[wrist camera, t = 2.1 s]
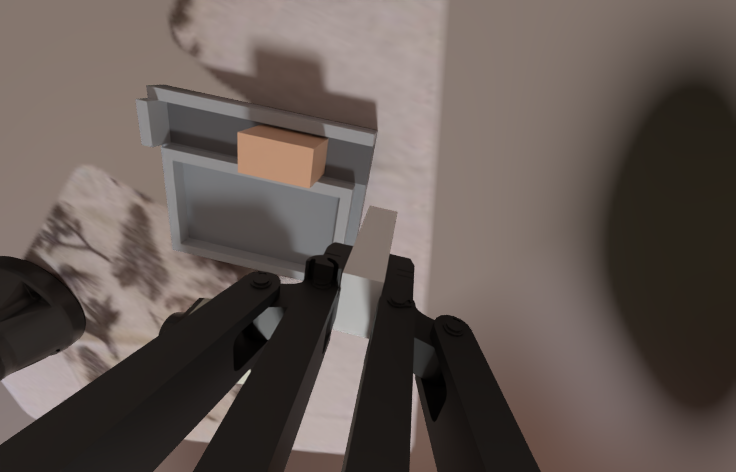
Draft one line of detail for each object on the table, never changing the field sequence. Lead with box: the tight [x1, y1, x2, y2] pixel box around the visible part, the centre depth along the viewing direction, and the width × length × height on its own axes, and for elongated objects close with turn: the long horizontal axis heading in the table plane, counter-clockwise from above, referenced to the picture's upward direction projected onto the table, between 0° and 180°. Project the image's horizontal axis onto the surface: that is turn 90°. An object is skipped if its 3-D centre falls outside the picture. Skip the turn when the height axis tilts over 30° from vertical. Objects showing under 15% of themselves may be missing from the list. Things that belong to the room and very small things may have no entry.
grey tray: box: [136, 85, 378, 281], centre depth 31 cm, size 20×16×4 cm
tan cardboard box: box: [237, 124, 329, 189], centre depth 27 cm, size 6×3×4 cm, turn 80°
